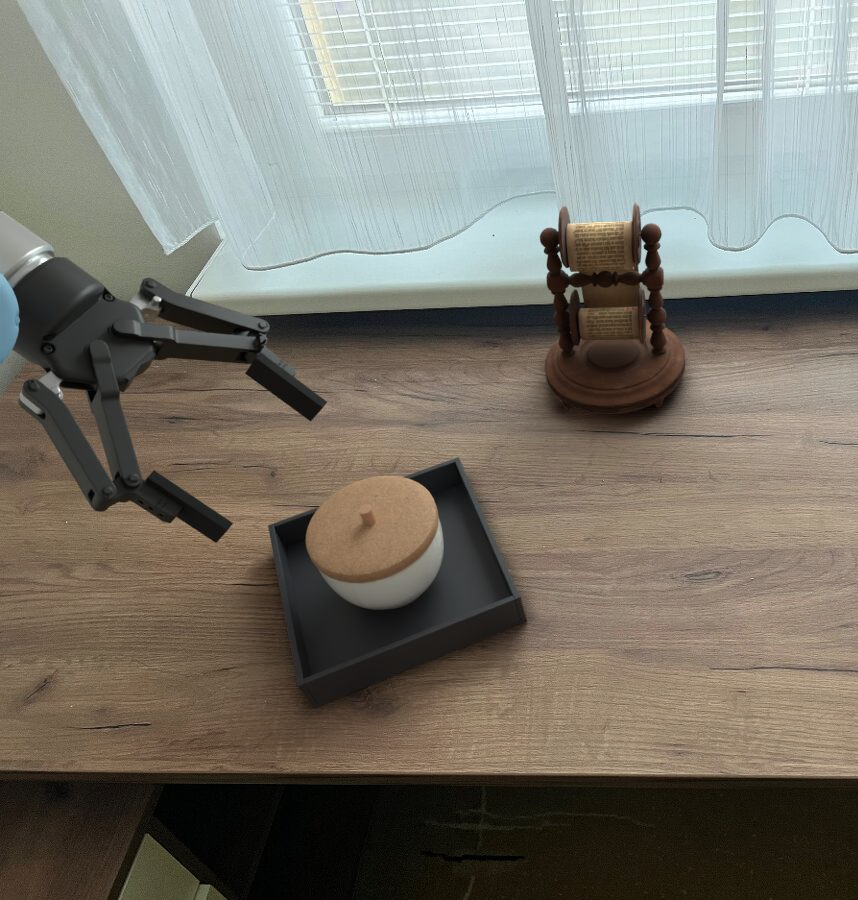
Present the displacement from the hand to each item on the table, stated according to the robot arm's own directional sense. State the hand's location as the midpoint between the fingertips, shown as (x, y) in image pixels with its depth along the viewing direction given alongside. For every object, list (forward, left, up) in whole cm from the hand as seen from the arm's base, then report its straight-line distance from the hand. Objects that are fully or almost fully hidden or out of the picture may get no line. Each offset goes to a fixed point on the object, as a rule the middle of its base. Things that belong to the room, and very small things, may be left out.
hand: (275, 469), depth 69 cm
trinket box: (+5, -4, -13) cm, 15 cm away
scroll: (+33, +12, -13) cm, 38 cm away
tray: (+5, -4, -13) cm, 15 cm away
